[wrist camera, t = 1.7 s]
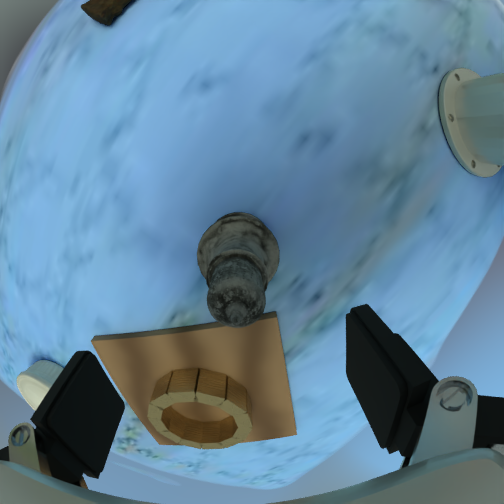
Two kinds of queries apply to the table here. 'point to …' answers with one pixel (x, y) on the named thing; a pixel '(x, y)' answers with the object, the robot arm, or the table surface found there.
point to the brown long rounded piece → (104, 9)
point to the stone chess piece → (237, 267)
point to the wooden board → (208, 357)
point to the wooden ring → (207, 392)
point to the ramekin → (38, 381)
